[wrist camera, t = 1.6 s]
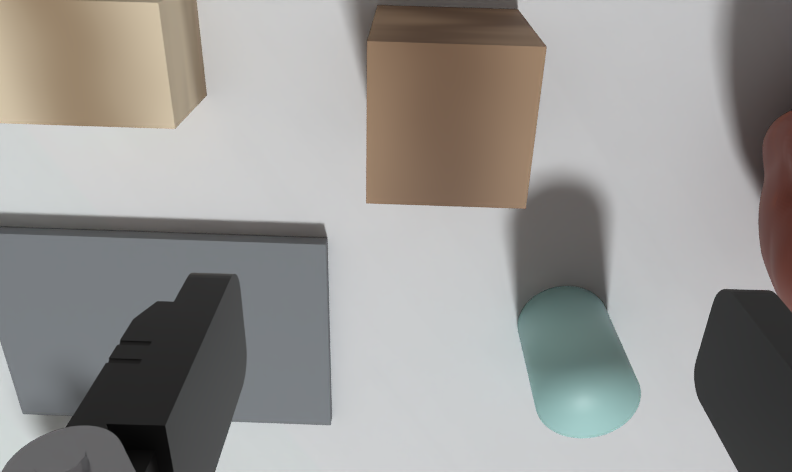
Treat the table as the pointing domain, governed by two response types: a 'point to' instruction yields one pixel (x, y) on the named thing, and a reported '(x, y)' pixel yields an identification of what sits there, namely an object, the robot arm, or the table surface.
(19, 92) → the beech block
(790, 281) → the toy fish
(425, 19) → the walnut block
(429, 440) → the table surface
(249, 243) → the mat
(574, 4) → the table surface
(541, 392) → the teal cylinder
